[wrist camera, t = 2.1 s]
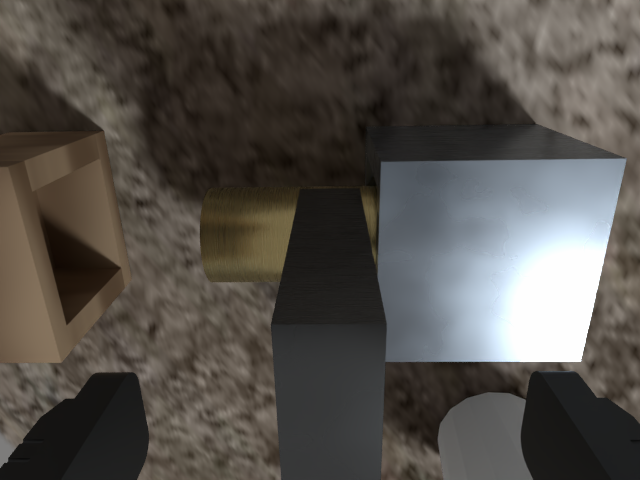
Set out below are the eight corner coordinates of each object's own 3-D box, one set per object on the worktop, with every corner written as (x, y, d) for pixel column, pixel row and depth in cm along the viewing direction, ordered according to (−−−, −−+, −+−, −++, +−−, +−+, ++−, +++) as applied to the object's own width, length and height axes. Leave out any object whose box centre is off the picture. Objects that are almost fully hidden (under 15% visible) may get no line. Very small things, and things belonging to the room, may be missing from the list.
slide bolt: (546, 163, 19) (836, 322, 8) (529, 264, 20) (750, 508, 10) (217, 167, 19) (72, 325, 8) (227, 266, 21) (117, 505, 10)
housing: (536, 124, 20) (626, 158, 14) (513, 276, 22) (580, 361, 16) (366, 126, 20) (381, 161, 14) (363, 277, 22) (375, 362, 16)
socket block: (103, 130, 20) (8, 167, 14) (131, 279, 23) (61, 362, 17) (10, 132, 20) (-124, 168, 14) (49, 280, 23) (-51, 362, 17)
